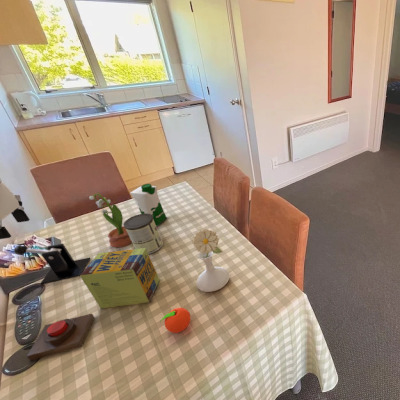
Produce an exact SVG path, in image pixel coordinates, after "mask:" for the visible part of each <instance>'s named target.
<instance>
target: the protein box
mask: <svg viewBox="0 0 400 400" xmlns="http://www.w3.org/2000/svg"><path fill="white" fill-rule="evenodd" d="M79 277H80V279H81V280H82V282H83V283H84V285H85V286H86V288H87V289H88V291H89V293H90V294H91V296H92V297H93V299H94V300H95V303H96V304H97V305H98V307H99V308H100V309H108V308H115V307H123V306H130V305H138V304H147V303H150V302H151V299H152V297H153V296H154V293H155V291H156V289H157V287H158V285H159V283H160V280H161V279H160V277H159V274H158V273H157V270H156V268H155V266H154V263H153V262H152V259H151V257H150V254H148V252H147V250H146V248H141V249H135V248H134V249H123V250H116V251H107V252H99V253H97V254H96V255H95V257H94V258H93V259H92V260H91V262H89V263H88V264H87V266H86V268H85V269H84V271H83V272H82V274H81V275H80V276H79Z"/></svg>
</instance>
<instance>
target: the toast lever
mask: <svg viewBox="0 0 400 400" xmlns="http://www.w3.org/2000/svg"><path fill="white" fill-rule="evenodd" d="M56 250H58V251H59V253H60V254H61V250H62V249H58V248H51V249H50V250H49V249H40V248H30V247H29V248H28V246H26V245H23V244H22V245H21V244H20V245H17V246H16V247H15V248H14V249H13V252H14V253H15V254H16V255H24V254H26V253H30V254H40V255H42V254H43V253H46V252H51V251H56Z"/></svg>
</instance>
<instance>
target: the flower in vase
mask: <svg viewBox="0 0 400 400" xmlns="http://www.w3.org/2000/svg"><path fill="white" fill-rule="evenodd" d="M219 241H220V238H219V236H218V234H217V232H215V231H214V230H211V229H208V228H204V229H202V230H199V231H198V232H195V235H194V236H193V240H192V244H193V245H194V248H195V250H196V251H197V252H198V254H197V258H198V259H200V260H202V261H203V263H204V266H205V268H206V269H205V270H203V271H202V272H201V273H200V274H199V275H198V276H197V279H196V287H197V289H198V290H199V291H201V292H205V293H213V292H215V291H216V292H217V291H218V290H220V289H222V288H223V287H225V286H226V285H227V283H228V281H229V280H230V277H231V276H230V275H231V274H230V271H229V270H228V269H227V268H225V267H223V266H214V265H213V260H212V258H213V255H214V254H221V253H223V250H222V249H221V248H219V247H218V245H219Z"/></svg>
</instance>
